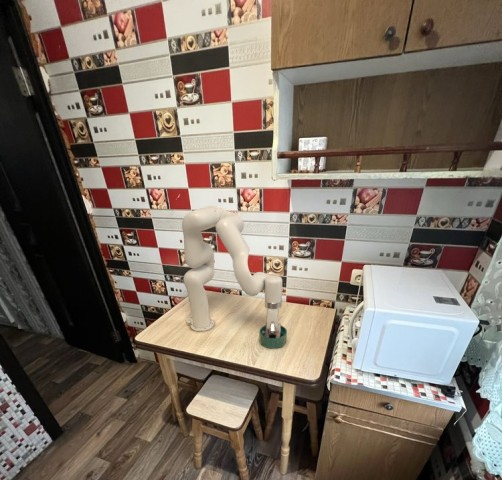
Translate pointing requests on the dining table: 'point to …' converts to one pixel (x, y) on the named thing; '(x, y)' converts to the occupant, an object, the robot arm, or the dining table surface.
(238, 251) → the robot arm
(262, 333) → the teal faceted bowl
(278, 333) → the white juice carton
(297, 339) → the dining table surface
